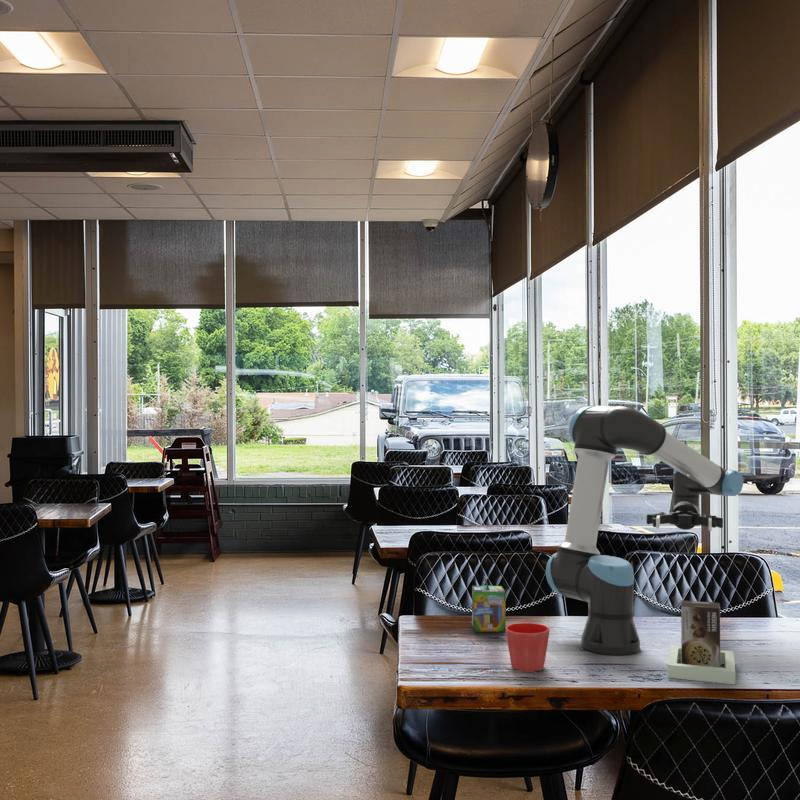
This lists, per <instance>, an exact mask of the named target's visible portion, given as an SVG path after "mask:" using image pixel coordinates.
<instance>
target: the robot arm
mask: <svg viewBox="0 0 800 800" xmlns="http://www.w3.org/2000/svg"><path fill="white" fill-rule="evenodd" d="M568 435H569V436H570V439H571V442H572V443H574V447H573V450H574V452H575V454H576V455H577V464H576V468H575V474H574V483H573V488H572V489H573V490H572V494H571V500H570V506H569V513H568V520H567V525H566V529H565V530H566V531H565V537H564V541H562V542H561V543H559V544H558V547H557V551H556V552H555V553H554V554H552V555H551V557H550V558H549V559H547V560H548V561H547V563H546V567H545V576H546V580H547V581H546V582H547V583H548V585H549V587H550V588H551V590H552V591H554V592H555V593H556V594H558V595H561V596H562V597H565V598H568V599H569V598H571V599H575V600H579V601H582V602H585V603H587V604H588V605H587V606H588V609H587V611H588V612H587V614H588V616H587V620H586V623H585V626H584V628H583V631H582V635H581V642H580V643H581V644H580V645H581V647H582V649H584V650H586V651H589V652H591V653H596V654H601V655H602V654H603V655H612V656H613V655H615V656H625V655H632V654H637V653H638V652H640V651H641V640H640V637H639V634H638V630H637V627H636V624H635V621H634V600H635V576H634V566H633V564H631V563H630V561H628V560H626V559H624V558H622V557H616V556H615V555H614V556H613V555H612V556H610V555H606V554H604V555H603V554H601V552H600V551H599V549H598V548H597V540H598V535H599V528H600V522H601V515H602V509H603V502H604V496H605V489H606V484H607V477H608V471H609V464H610V461H612V460H613V459H614V458H616V456H617V449H622V450H623V449H624V450H631V451H632V450H633V451H636V452H639V453H640V454H642V455H643V456H653V457H654V458H655V459H657V460H659V461H661V462H662V463H664V464H665V465H667V466H669V467H671V468H672V469H673V473H672V475H673V476H672V477H673V479H672V480H673V481H672V483H673V487H672V488H673V490H672V491H673V497H672V498H673V499H672V501H673V502H672V503H673V506H672V511H671V512H669V513H667V514H666V512H664V511H660V512H657V513H649V514H646V525H651V524H652V528H655V529H659V528H660V526H661V525H664V524H665V525H666V524H667V525H668V524H669V525H673V526H675V527H676V528H678V529H680V530H683V531H688V530H691V529H693V528H694V527H699V526H703V527H708V532H712V529H715V528H719V529H722V528H724V525H723V524H724V519H723V518H722V517H718V516H717V515H712V514H708V513H705V514H703V515H700V514H701V513H700V494H707V495H717V496H723V497H736V496H738V495H740V493H741V492H742V490H743V487H744V478H743V476H742V474H741V473H740V472H739V471H737V470H732V469H730V468H729V469H725V468H723V467H721V466H720V465H718V464H717V463H715V462H714V461H712V460H710V459H709V458H708V457H706V456H704V455H703V454H701V453H700V452H698V451H697V450H695V449H694V448H693V447H690V446H688V445H687V444H686V443H684V442H682V441H681V440H680V439H678V438H676V437H675V436H673V435H672V434H670V433H669V432H667V429H666V427H665V426H664V425H663V424H662V423H660V422H658V421H657V420H656V419H653V418H652V417H650V416H649V415H647V414H644V413H643V412H641V411H639V410H637V409H634V408H633V407H629V406H624V405H597V404H595V405H590V406H584V407H580V409H579V410H577V411H576V412H575V413H574V414H573V415H572V417H571V419H570V421H569V425H568Z"/></svg>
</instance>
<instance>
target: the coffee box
mask: <svg viewBox="0 0 800 800" xmlns="http://www.w3.org/2000/svg"><path fill="white" fill-rule="evenodd" d="M680 611H681V612H680V617H681V619H680V623H681V624H680V625H681V627H680V629H681V631H680V632H681V634H680V635H681V638H680V639H681V640H680V641H681V643H680V647H681V660H680V662H681V663H680V664H688V665H698V666H709V667H719V668H722V667H721V665H722V664H721V654H720V650H721V605H720V602H713V601H700V600H699V601H698V600H697V601H696V600H695V601H694V600H682V601H681V604H680Z"/></svg>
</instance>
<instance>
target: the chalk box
mask: <svg viewBox="0 0 800 800" xmlns="http://www.w3.org/2000/svg"><path fill="white" fill-rule="evenodd" d="M483 579H484V582H485V585H472V586H471V628H472V630H473V632H474V633H485V632H490V633H492V632H493V633H494V632H495V633H496V632H502V633H503V632H504V633H506V626H507V625H506V624H507V622H506V620H507V618H506V615H507V614H506V613H507V612H506V591H505V589H504V587H503V586H502V585H489V584H488V581H487V577H486V576H485V575H483Z"/></svg>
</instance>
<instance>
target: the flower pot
mask: <svg viewBox="0 0 800 800" xmlns="http://www.w3.org/2000/svg"><path fill="white" fill-rule="evenodd" d="M550 631H551V629H550V627H548V626H547V625H544V624H542V623H535V622H534V623H533V622H517V623H511V624H508V625H506V632H505V635H506V636H505V637H506V641H507V647H508V652H509V659H510V663H511V664H510V665H511V668H512V669H514V670H515V671H520V672H528V673H529V672H530V673H535V672H537V671H542V670H543V669H544V668H545V667H544V666H545V661H546V655H547V651H548V645H549V637H550Z"/></svg>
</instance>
